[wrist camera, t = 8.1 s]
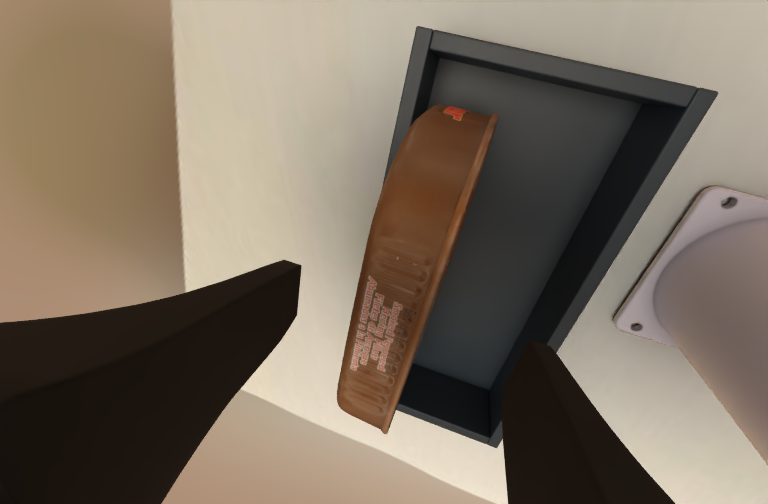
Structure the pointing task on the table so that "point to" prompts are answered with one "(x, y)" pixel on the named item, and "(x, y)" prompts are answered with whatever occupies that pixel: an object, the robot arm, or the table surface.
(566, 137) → the bin
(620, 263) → the table surface
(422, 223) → the tin
